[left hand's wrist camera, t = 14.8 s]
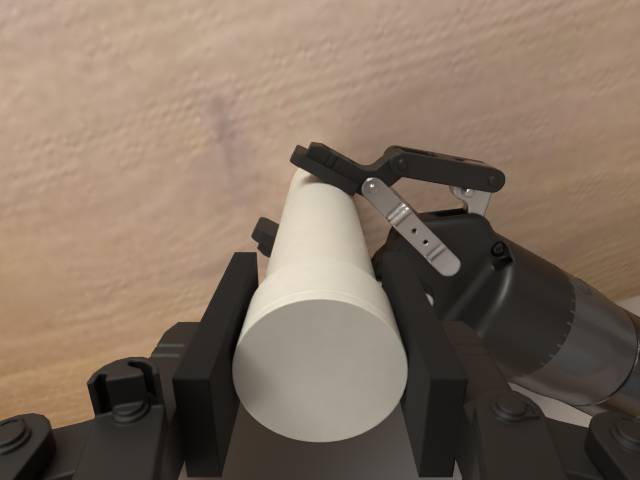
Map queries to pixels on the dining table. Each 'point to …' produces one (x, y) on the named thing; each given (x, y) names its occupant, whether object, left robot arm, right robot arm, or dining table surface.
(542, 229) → the dining table surface
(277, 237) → the white tall cylinder
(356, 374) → the lid
